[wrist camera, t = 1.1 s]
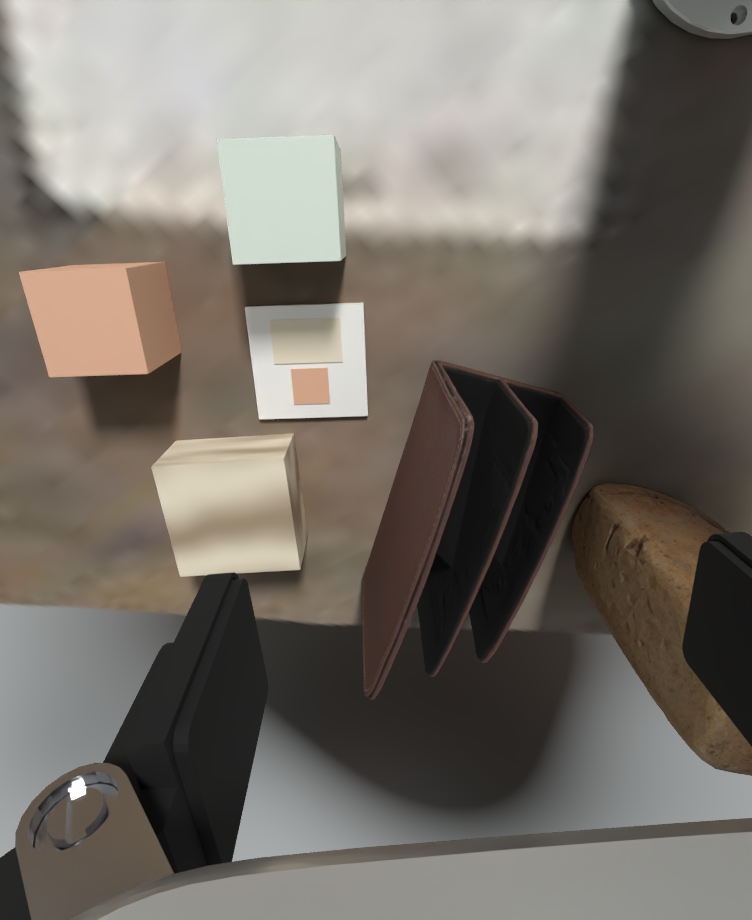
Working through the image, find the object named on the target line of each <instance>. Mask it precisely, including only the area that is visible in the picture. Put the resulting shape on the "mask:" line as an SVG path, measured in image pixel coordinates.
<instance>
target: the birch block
mask: <svg viewBox="0 0 752 920" xmlns="http://www.w3.org/2000/svg"><path fill="white" fill-rule="evenodd" d="M151 468H152V472H153V475H154V479H155V483H156V487H157V490H158V494H159V498H160V502H161V506H162V509H163V513H164V517H165V521H166V525H167V528H168V532H169V536H170V540H171V544H172V547H173V551H174V555H175V559H176V563H177V566H178V570H179V574H180V577H183V576H200V575H208V574H219V573H232V572H235V573H253V572H270V571H288V570H300V569H301V565H302V560H303V556H304V551H305V546H306V542H307V537H308V533H307V526H306V518H305V511H304V504H303V497H302V490H301V483H300V475H299V468H298V461H297V454H296V447H295V439H294V433H293V434H277V435H261V436H245V437H229V438H213V439H198V440H182V441H175V442H174V443H173V444H172V445H171V446H170V448H169V449H168V450H167V451H166V452H165V453H164V454H163V455H162V456H161V457H160V458H159V459H158V460H157V461H156V462H155V464H154V465H153V466H152V467H151Z"/></svg>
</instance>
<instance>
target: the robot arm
mask: <svg viewBox="0 0 752 920" xmlns="http://www.w3.org/2000/svg"><path fill="white" fill-rule="evenodd" d="M652 1H653V3H654V4H655V6H656V7H657V8H658V9H659V10H660V11H661V12H662V13H663V14H664V15H665V16H666V17H667V18H668V19H669V20H670V21H671V22H672V23H674V24H675V25H677V26H679V27H680V28H682V29H684V30H686V31H687V32H689V33H692V34H696V35H699V36H703V37H707V38H722V39H731V38H736V37H741V36H746V35H751V34H752V0H652ZM730 16H731V17H732V22H731V17H730ZM682 650H683V655H684V658H685V660H686V662H687V664H688V665H689V667H690V668H691V669H692V670H693V672H694V673H695V674H696V676H697V677H698V678H699V679H700V681H701V682H702V683H703V685H704V686H705V687H706V689H707V690H708V691H709V692H710V694H711V695H712V696H713V698H714V699H715V700H716V701H717V703H718V704H719V705H720V707H721V708H722V709H723V710H724V712H725V713H726V714H727V716H728V717H729V718H730V720H731V721H732V722H733V723H734V725H735V726H736V727H737V729H738V730H739V731H740V732H741V734H742V735H743V736H744V738H745V739H746V740H747V741H748V743H749V744H750V745H751V747H752V536H750V535H749V534H747V533H745V532H733V533H721V534H713V535H711V536H710V537H709V538H708V540H707V542H704V543H703V544H702V545H701V547H700V550H699V556H698V561H697V567H696V572H695V578H694V583H693V589H692V594H691V600H690V605H689V611H688V616H687V622H686V627H685V633H684V638H683V644H682ZM267 692H268V681H267V675H266V670H265V665H264V660H263V655H262V650H261V645H260V641H259V636H258V631H257V626H256V621H255V616H254V611H253V607H252V602H251V597H250V592H249V587H248V583H247V581H246V579H238V576H237V574H236V573H235V572H232V573H219V574H208V575H206V577H205V578H204V580H203V582H202V585H201V587H200V589H199V591H198V593H197V595H196V597H195V599H194V601H193V603H192V606H191V608H190V610H189V612H188V614H187V616H186V618H185V620H184V622H183V624H182V626H181V629H180V631H179V633H178V635H177V637H176V639H175V641H174V643H167V644H165V645H164V646H162V648H161V650H160V651H159V653H158V655H157V657H156V659H155V661H154V663H153V664H152V667H151V668H150V671H149V672H148V674H147V676H146V679H145V680H144V682H143V684H142V686H141V688H140V690H139V692H138V694H137V696H136V698H135V700H134V702H133V704H132V706H131V708H130V710H129V712H128V714H127V716H126V718H125V720H124V722H123V724H122V726H121V728H120V730H119V732H118V734H117V736H116V738H115V740H114V742H113V744H112V746H111V748H110V750H109V752H108V754H107V756H106V758H105V760H104V762H103V763H93V764H89V765H85V766H82V767H78V768H76V769H74V770H72V771H70V772H68V773H66V774H64V775H62V776H61V777H60V778H58V779H57V780H55V781H54V782H52V783H51V784H50V785H48V786H47V787H46V788H45V789H44V790H43V791H42V792H41V793H40V794H39V795H38V796H37V797H36V798H35V799H34V800H33V801H32V802H31V804H30V805H29V807H28V808H27V810H26V811H25V813H24V814H23V816H22V817H21V820H20V823H19V825H18V829H17V831H16V844H15V848H14V849H12V850H11V851H9V852H8V853H6V854H5V855H4V856H2V857H1V858H0V920H752V818H746V819H731V820H716V821H702V822H688V823H674V824H661V825H647V826H634V827H621V828H606V829H593V830H581V831H566V832H553V833H542V834H541V833H540V834H527V835H514V836H501V837H489V838H476V839H464V840H452V841H439V842H426V843H415V844H402V845H389V846H377V847H364V848H353V849H343V850H333V851H323V852H314V853H303V854H293V855H283V856H273V857H263V858H255V859H248V860H242V861H235V862H232V858H233V853H234V849H235V844H236V839H237V834H238V830H239V825H240V820H241V815H242V811H243V806H244V802H245V797H246V792H247V788H248V783H249V778H250V773H251V769H252V764H253V759H254V755H255V750H256V746H257V741H258V736H259V731H260V727H261V722H262V717H263V713H264V708H265V704H266V699H267Z"/></svg>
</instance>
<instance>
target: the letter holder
mask: <svg viewBox="0 0 752 920" xmlns="http://www.w3.org/2000/svg"><path fill="white" fill-rule="evenodd" d="M593 432H594V429H593V426H592V424H591V423H590V422H589V421H588V420H587V419H586V418H585V417H584V416H583V415H582V414H581V413H580V412H579V411H577V409H576V408H575V407H573V406H572V405H571V404H570V403H569V402H568V401H567V400H566V399H565V398H564V396H563V395H562V394H560V393H556V392H552V391H549V390H546V389H542V388H538V387H534V386H530V385H527V384H523V383H519V382H516V381H512V380H508V379H505V378H501V377H498V376H494V375H491V374H487V373H484V372H480V371H476V370H472V369H469V368H465V367H462V366H458V365H454V364H450V363H447V362H443V361H438V360H437V361H433V362H432V364H431V366H430V369H429V373H428V376H427V380H426V383H425V386H424V389H423V393H422V396H421V399H420V402H419V406H418V409H417V412H416V415H415V418H414V421H413V424H412V427H411V430H410V434H409V437H408V440H407V443H406V446H405V449H404V452H403V455H402V458H401V461H400V464H399V467H398V470H397V473H396V476H395V480H394V483H393V486H392V489H391V492H390V495H389V499H388V502H387V505H386V508H385V511H384V514H383V517H382V520H381V524H380V527H379V530H378V533H377V536H376V539H375V542H374V545H373V549H372V552H371V555H370V558H369V561H368V564H367V566H366V569H365V572H364V575H363V578H362V587H363V610H362V612H363V615H362V617H363V676H364V685H363V687H364V694H365V696H367V697H369V699H371V700H373V699H375V697H376V696H377V694H378V693H379V691H380V689H381V687H382V685H383V683H384V681H385V679H386V676H387V674H388V672H389V670H390V668H391V666H392V663H393V661H394V659H395V656H396V653H397V651H398V649H399V647H400V645H401V642H402V640H403V638H404V635H405V633H406V630H407V628H408V625H409V623H410V621H411V618H412V616H413V613H414V611H415V609H416V606H418V614H419V622H420V629H421V637H422V646H423V654H424V662H425V671H426V673H427V674H428V675H429V676H432V677H433V676H435V675H436V674H437V672H438V671H439V669H440V667H441V666H442V664H443V662H444V660H445V658H446V657H447V655H448V653H449V651H450V649H451V647H452V645H453V643H454V641H455V639H456V637H457V635H458V633H459V631H460V629H461V627H462V625H463V623H464V620H465V619H466V617H467V614H468V612H469V615H470V620H471V625H472V630H473V635H474V641H475V648H476V654H477V657H478V658H479V659H480V661H481V662H482V663H486V662H487V661H488V660H489V659H490V658H491V656H492V655H493V654H494V653H495V651H496V650H497V648H498V646H499V645H500V643H501V641H502V639H503V637H504V636H505V634H506V632H507V630H508V629H509V627H510V625H511V623H512V621H513V619H514V617H515V615H516V614H517V612H518V610H519V608H520V606H521V604H522V603H523V601H524V599H525V597H526V595H527V593H528V590H529V588H530V586H531V584H532V582H533V580H534V578H535V576H536V574H537V572H538V570H539V568H540V566H541V564H542V562H543V560H544V558H545V555H546V553H547V551H548V549H549V547H550V545H551V543H552V541H553V538H554V536H555V534H556V532H557V530H558V528H559V526H560V523H561V521H562V519H563V516H564V514H565V512H566V510H567V507H568V505H569V503H570V501H571V498H572V496H573V494H574V491H575V489H576V486H577V484H578V481H579V479H580V476H581V474H582V471H583V469H584V466H585V463H586V460H587V457H588V454H589V451H590V448H591V445H592V441H593Z"/></svg>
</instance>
